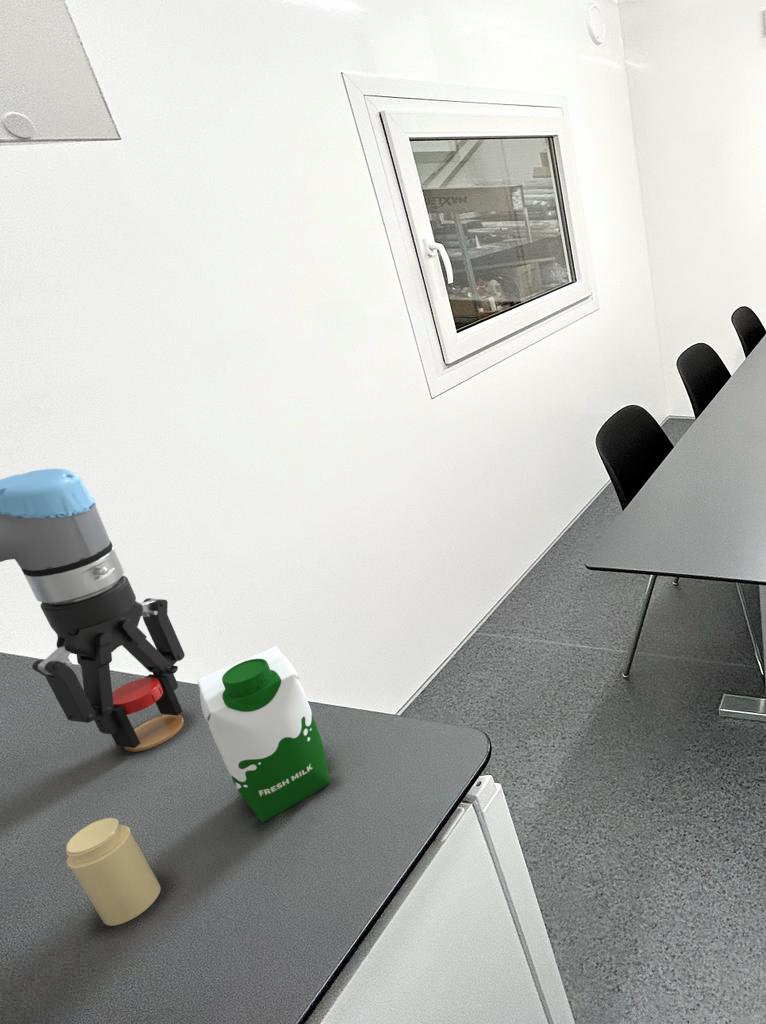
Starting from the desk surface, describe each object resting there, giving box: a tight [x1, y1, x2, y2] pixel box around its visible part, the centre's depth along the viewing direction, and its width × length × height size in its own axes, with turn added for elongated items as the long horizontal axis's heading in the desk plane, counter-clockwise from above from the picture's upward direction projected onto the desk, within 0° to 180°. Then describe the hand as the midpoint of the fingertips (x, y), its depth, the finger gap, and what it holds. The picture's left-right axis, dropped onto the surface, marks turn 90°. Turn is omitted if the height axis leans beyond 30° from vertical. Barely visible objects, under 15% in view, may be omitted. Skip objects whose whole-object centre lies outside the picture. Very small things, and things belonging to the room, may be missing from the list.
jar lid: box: [112, 677, 163, 716], centre depth 84 cm, size 5×5×2 cm
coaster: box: [123, 714, 185, 753], centre depth 87 cm, size 6×6×1 cm
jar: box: [65, 817, 162, 927], centre depth 65 cm, size 4×4×11 cm
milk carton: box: [196, 645, 331, 824], centre depth 76 cm, size 9×9×20 cm
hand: (150, 727), depth 86 cm, fingers closed on jar lid, 5 cm apart
